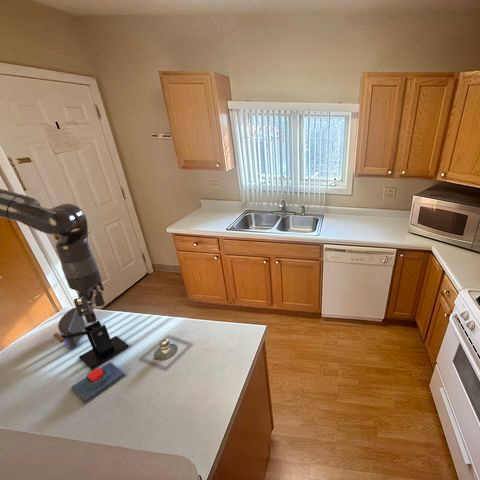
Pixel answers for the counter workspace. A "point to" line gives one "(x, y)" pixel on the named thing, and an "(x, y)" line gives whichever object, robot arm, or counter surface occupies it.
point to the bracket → (101, 346)
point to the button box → (97, 382)
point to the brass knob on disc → (165, 350)
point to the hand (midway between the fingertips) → (96, 313)
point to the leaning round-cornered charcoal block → (71, 327)
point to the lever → (73, 334)
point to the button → (96, 374)
